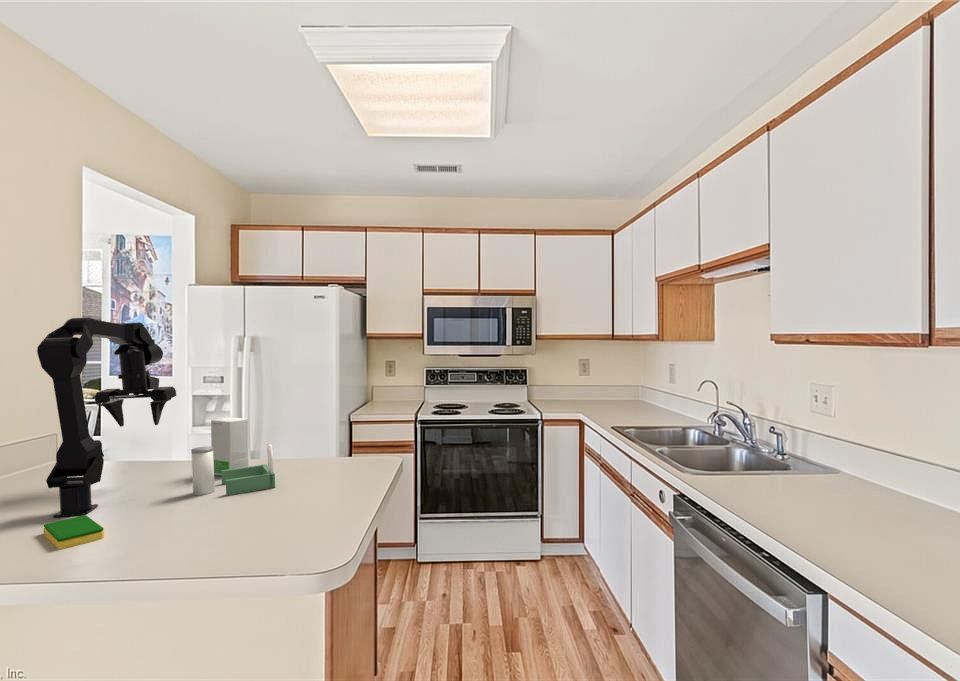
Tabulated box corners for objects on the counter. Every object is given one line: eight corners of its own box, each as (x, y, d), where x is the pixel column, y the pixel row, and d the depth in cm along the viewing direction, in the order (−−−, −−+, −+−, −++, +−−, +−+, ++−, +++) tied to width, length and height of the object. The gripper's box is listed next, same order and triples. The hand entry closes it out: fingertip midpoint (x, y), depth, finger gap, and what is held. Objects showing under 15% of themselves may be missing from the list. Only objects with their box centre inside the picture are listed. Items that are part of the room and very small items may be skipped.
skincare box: (211, 475, 155) (208, 420, 155) (231, 469, 161) (229, 416, 161) (231, 477, 151) (228, 421, 151) (251, 471, 157) (248, 417, 157)
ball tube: (212, 494, 135) (210, 449, 135) (191, 496, 134) (189, 451, 134) (216, 488, 139) (214, 445, 139) (195, 491, 138) (194, 447, 138)
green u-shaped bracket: (226, 495, 133) (224, 452, 133) (221, 483, 145) (220, 443, 145) (275, 487, 139) (273, 446, 139) (266, 476, 150) (265, 438, 150)
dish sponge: (58, 552, 101) (58, 538, 101) (43, 535, 110) (43, 523, 110) (104, 540, 106) (104, 527, 106) (86, 526, 115) (85, 514, 115)
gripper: (183, 363, 156) (188, 416, 158) (115, 365, 155) (121, 419, 157) (162, 369, 145) (168, 427, 147) (90, 372, 144) (96, 430, 146)
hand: (139, 425), depth 149 cm, fingers open, 9 cm apart
